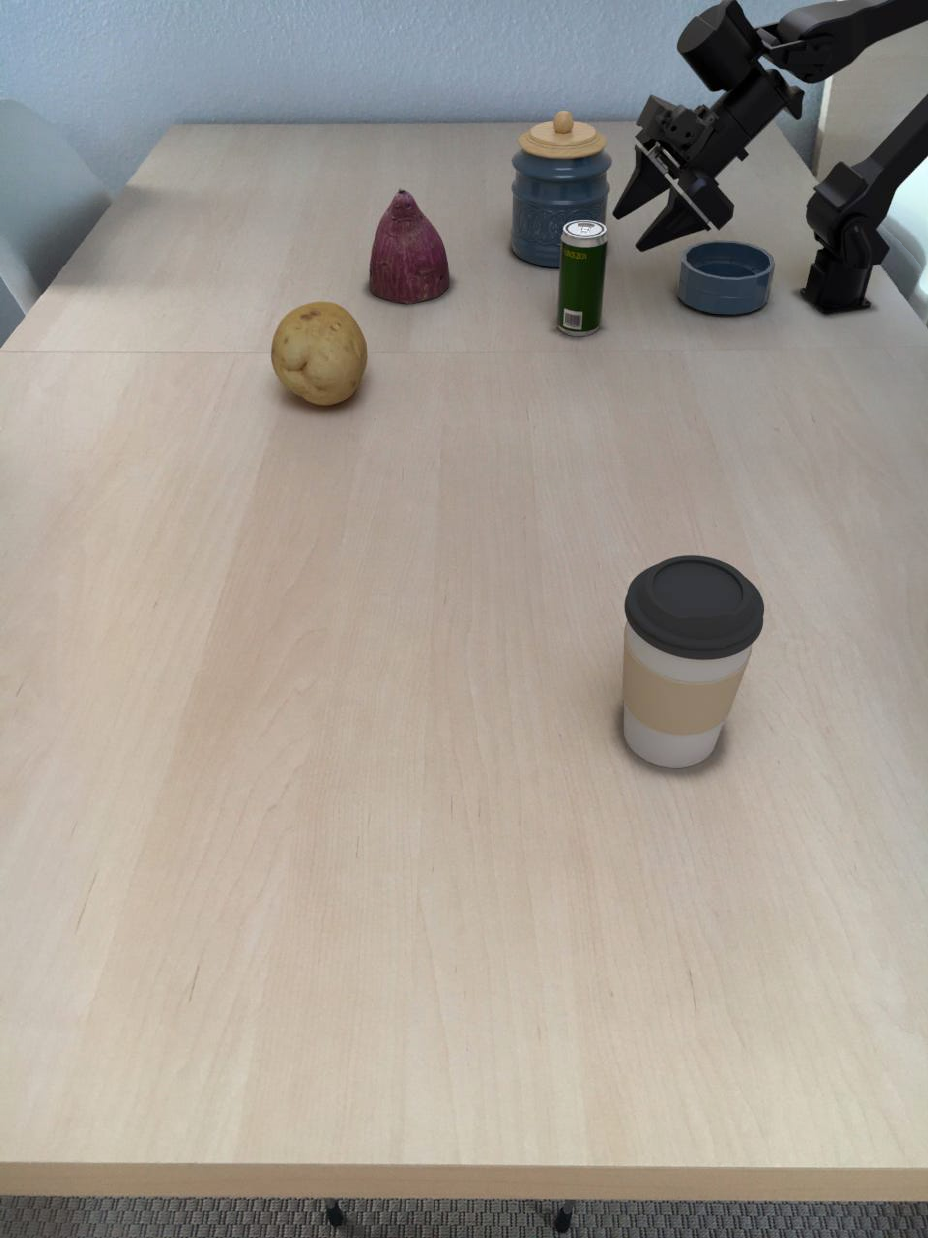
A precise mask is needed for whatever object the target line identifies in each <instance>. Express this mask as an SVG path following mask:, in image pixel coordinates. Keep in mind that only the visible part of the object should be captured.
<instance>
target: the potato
mask: <svg viewBox="0 0 928 1238" xmlns="http://www.w3.org/2000/svg"><path fill="white" fill-rule="evenodd" d="M367 345H368V344H367V341H366V337H365V336H364V333H363V331H362V329H361V327H360V326H359V324H358V323H357V320H355V318H354V317H353V315H352V314H351V313H349V311H348V310H347V309H345V308H344V307H343V306H341V305H339V304H338V303H335V302H331V301H315V302H309V303H306V304H305V303H304V304H302V305H299V306H298V307H296V308H294V309H292V310H290V311H289V312H288V313H287V314H286V315H285V316H284V317H283V318H282V319H281V321H280V322H279V324H278V325H277V328H276V329H275V332H274V334H273V338H272V342H271V346H270V347H271V348H270V359H271V360H270V361H271V365H272V368H273V370H274V373H275V375H276V377H277V378H278V380H279V381H280V383H281V384H282V385H283V386H284V387H285V388H286V389H288V390H289V391H291V392H292V393H294V394H295V395H298V396H299V397H301V398H302V399H304V400H305V401H307V402H308V403H311V404H315V405H317V406H333V405H335V404H336V405H337V404H339V403H341V402H342V403H343V402H344V401H345V400H348V399H349V398H350V397H352V395H353V394H354V392H355V391H356V390H357V388H358V387H359V385H360V383H361V381H362V379H363V377H364V374H365V371H366V369H367V365H368V356H369V355H368V346H367Z"/></svg>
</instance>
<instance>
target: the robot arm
mask: <svg viewBox="0 0 928 1238" xmlns="http://www.w3.org/2000/svg"><path fill="white" fill-rule="evenodd" d="M926 22H928V0H836V1H835V0H833V1H824V2H820V3H814V4H810V5H806V6H801V7H797V8H795V9H792V10H791V11H789V12H787V13H786V14H784V16H782V18H780V19H779V20H778V21H775V22H771V23H765V24H762V25H758V26H754V25H752V23H751V22H750V21H749V19H748V18H747V17H746V14H745V12H744V10H743V7H742V6H741V4H740V3H739V2H738V0H721V1H720V2H719V4H716V5H715V4H714V5H712V6H710V7H708V8H707V9H705V10H704V11H703V12H701V13H700V14H699V15H698V16H697V15H695V16H694V17H693V18H692V19H691V20H690V21H689V23H687V25H686V26H685V27H684V28H683V31H681V33H680V35H679V37H678V40H677V42H676V50H677V53H678V54H679V55H680V56H681V58H683V60H684V61H685V62H686V64H687V65H688V66H689V68H691V70H692V72H694V73H695V75H696V76H697V77H698V79H699V80H700V81H701V82H702V84H703V85H704V86H705V87H706V88H707V90H708V91H709V92H713V93H714V92H719V91H720V92H721V91H724V92H723V93H722V94H721V95H720V96H719V98H718V99H717V100H716V101H714V103H713V104H712V105H711V106H710V107H708V106H707V105H705V103H703V104H699V105H697V107H695V109H692V108H687V107H686V106H684V104H682V103H680V104H678V105H675V104H674V103H671V102H669V101H667V100H665V99H662V98H661V97H659V96H656V95H655V94H652V93H651V94H649V97H648V98H647V100H646V102H645V104H644V106H643V108H642V110H641V112H640V114H639V116H638V118H637V120H636V123H635V124H636V125H635V126H637V127H641V130H640V131H639V132H638V133H637V134H636V135H635V136H634V138H635V139H636V140H637V141H638V142H639V143H640V145H641V147H639V145H637V143H636V144H635V145H634V151H635V167H634V170H633V172H632V174H631V175H630V176H631V177H630V178H629V180H628V182H627V184H626V186H625V188H624V190H623V191H622V194H621V195H620V197H619V198H618V201H617V203H616V205H615V207H614V209H613V210H612V212H611V214H612V216H613V217H614V218H615V220H616V221H619V220H621V219H623V218H625V217H627V216H628V215H630V214H632V213H633V212H635V211H636V210H638V209H639V208H641V207H643V206H644V205H646V204H647V203H649V202H651V201H652V200H654V199H655V198H657V197H658V196H660V195H662V194H663V193H665V192H666V191H668V190H669V191H668V198H667V203H666V205H665V206H664V208H663V209H662V210H661V211H660V213H658V215H657V216H656V218H655V219H654V220H653V221H652V222H651V223H650V225H649V226H648V227H647V229H646V230H645V231H644V232H643V233H642V235H641V236H640V237H639V239H638V241H636V243H635V248H636V249H637V250H638V252H640V253H644V252H646V251H650V250H652V249H654V248H656V247H659V246H662V245H665V244H668V243H670V242H672V241H675V240H678V239H680V238H684V237H687V236H690V235H693V234H696V233H699V232H702V231H705V232H709V231H711V230H712V227H711V226H710V225H709V223H711V224H712V225H713V226H714V227H715V228H716V229H717V231H720V230H721V229H722V228H724V227H725V226H726V225H727V224H728V223H729V221H731V220H732V219H733V217H734V212H735V211H734V210H735V204H734V203H733V202H732V200H730V198H729V197H728V196H727V195H726V194H725V193H724V191H723V190H722V189H721V188H720V187H719V186H720V183H719V182H718V181H717V180H716V178H717V177H718V176H719V175H720V174H721V173H722V172H723V171H724V170H725V168H727V167H728V166H729V165H730V164H731V163H732V162H733V161H734V160H735V159H736V158H737V159H738V160H739V161H740V162H743V161H745V159H747V158H748V157H749V155H750V153H749V152H748V151H747V150H746V148H747V147H748V146H749V145H750V144H751V143H752V142H753V141H754V139H756V138H757V137H758V135H759V134H761V132H763V131H764V129H766V128H767V126H768V125H769V124H770V123H772V121H773V120H774V119H775V118H777V116H779V114H781V112H782V111H784V112H786V114H788V115H789V116H790V117H792V118H793V119H794V120H796V121H799V120H801V119H802V118H803V109H804V108H803V107H804V106H803V104H804V103H803V102H804V97H805V95H806V91H805V90H804V89H802V88H801V87H799V86H798V85H790V84H789V83H788V82H787V80H786V79H785V78H784V76H783V74H782V73H781V72H780V71H779V70H784V71H786V72H788V73H789V74H791V75H792V76H793V77H795V78H796V79H798V80H800V81H801V82H803V83H805V84H811V85H814V84H818V83H822V82H824V81H825V80H828V79H829V78H831V77H832V76H834V75H836V74H838V73H839V72H841V71H842V70H844V69H845V68H847V67H849V66H850V65H852V64H853V63H854V62H855V61H856V60H857V59H858V57H859V56H861V54H862V53H863V52H864V51H865V50H867V49H868V48H869V47H871V46H873V45H875V44H877V43H878V42H880V41H883V40H885V39H889V38H890V37H892V36H895V35H897V34H899V33H902V32H905V31H907V30H909V29H911V28H914V27H916V26H918V25H921V24H923V23H926ZM761 57H762V58H764V59H765V60H766V61H768V62H769V63H771V64H772V65H773V66H775V67H776V68H778V69H776V68H767V69H765V68H764V66H763V65H762V63H761V62H760V61H759V60H760V59H761ZM927 158H928V93H926V95H925V96H924V97H923V98H921V100H920V101H919V102H918V103H917V104H916V105H915V106H914V107H913V108H912V109H911V110H910V111H909V113H908V114H907V115H906V116H905V117H904V118H903V119H902V120H901V121H900V123H898V125H897V126H896V127H895V128H894V129H893V130H892V131H891V132H890V133H889V134H888V135H887V136H886V137H885V138H884V140H883V141H881V143H880V144H879V145H878V146H877V147H876V148H875V149H874V151H873V152H871V154H869V156H868V157H866V158H865V159H864V160H862V161H860V162H858V163H856V164H853V165H852V166H849V165H848V164H846V163H845V162H844V160H843V161H842V160H840V161H839V162H838V163H836V164H835V165H834V166H833V167H832V169H831V170H830V172H829V173H828V174H827V176H826V177H825V178H824V179H822V181H821V182H820V183H818V184H816V185H814V186H813V187H812V191H814V193H813V194H812V195H811V197H810V198H809V200H808V201H807V204H806V212H805V213H806V214H805V219H806V223H807V225H808V226H809V228H810V229H811V230H812V232H813V239H814V240H815V242H816V243H817V242H818V243H819V244H820V245H821V246H822V248H820V249H817V250H816V253H815V258H814V262H813V263H811V264H810V268H809V272H808V277H807V281H806V285H805V287H802V288H800V290H799V294H800V295H801V296H803V297H804V298H805V299H806V300H807V301H808V302H810V304H812V305H813V306H814V307H815V308H817V310H819V311H820V312H821V313H822V314H824V315H830V314H837V313H844V312H849V311H856V310H863V309H869V308H871V306H872V302H871V301H870V300H868V299H867V298H866V294H867V290H868V286H869V283H870V279H871V275H872V272H873V269H874V266H881V264H882V263H883V262H884V260H885V258H886V257H887V256H888V254H889V252H890V249H891V248H890V246H889V244H888V243H887V242H886V240H885V239H884V238H883V237H882V235H881V234H880V233H879V231H878V230H877V229H878V228H879V227H880V225H881V224H882V223H883V221H884V220H885V219H886V218H887V215H888V213H889V211H890V208H891V205H892V202H893V200H894V198H895V195H896V192H897V190H898V189H899V188H900V186H901V185H902V184H903V183H904V182H905V181H906V180H907V179H908V178H909V177H910V176H911V175H912V174H913V173H914V172H915V170H917V168H918V167H919V166H921V164H922V163H924V162H925V161H926V160H927ZM666 175H668V176H669V177H670V178H671V179H672V180H673V181H676V180H677V179H678V180H677V183H676V185H677V186H678V187H679V188H680V190H682V193H680V192H679V191H678V190H677V188H675V186H674V184H673V183H672V182H671V181H670V180H669V179H668V178H667V176H666Z"/></svg>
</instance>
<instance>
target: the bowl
mask: <svg viewBox="0 0 928 1238" xmlns="http://www.w3.org/2000/svg"><path fill="white" fill-rule="evenodd" d="M775 261H776V260H775V258H774V256H773V255H772V254H771V253H769V252H768V251H767V250H766V249H765V248H761V247H760V246H756V245H755V244H751V243H749V242H742V241H737V240H726V239H725V240H723V239H722V240H721V239H719V240H718V239H715V240H708V241H701V242H698V243H695V244H693V245H690V246H687V248H686V249H685V250H683V252H682V253H681V254H680V263H679V270H678V276H677V277H678V278H677V284H676V296H677V297H678V298H679V299H680V300H681V301H682V302H683V303H684V304H685V305H687V306H689V307H691V308H693V309H695V310H698V311H701V312H705V313H709V314H715V315H741V314H747V313H752V312H753V311H756V310H758V309H760V308H763V307H764V305H765V304H766V303H767V302H768V301H769V298H770V293H771V287H772V283H773V278H774V273H775V268H776V262H775Z"/></svg>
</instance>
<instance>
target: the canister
mask: <svg viewBox="0 0 928 1238" xmlns="http://www.w3.org/2000/svg"><path fill="white" fill-rule="evenodd" d="M607 144H608V140H607V138H606V137H605V135H603V134H602V133H600V132H599V131H597V130H596V128H595V127H594V126H592V125H590V124H589V123H585V122H583V121H582V122H581V121H577V120H574V117H573V114H572V113H571V112H570V111H567V110H561V111H558V112H557V113H556V114H555V115H554V118H553V119H552V120H550V121H544V122H541V123H538V124H536V125H534V126H532V127H531V128H530V130H528V131H525V132H524V133H523V134H521V136H519V139H518V146H519V147H520V149H519V150H517V151H516V152H515V153H514V154H513V156H512V158H511V164H512V167H513V168H514V169H515V177H514V180H513V181H512V182H511V186H510V187H511V192H512V211H511V212H512V219H511V221H512V222H511V223H512V224H511V229H510V242H511V245H512V250H513V253H514V254H515V256H517V257H518V258H519V259H521V260H523V261H525V262H527V263H530V264H532V265H537V266H542V267H548V268H549V267H550V268H559V266H560V245H561V235H562V233H563V227H564V226H565V225H566V224H567V223H569V222H573V221H578V220H590V221H596V222H599V223H601V224H603V225H605V226H606V224H607V222H606V221H607V211H608V199H609V193H610V190H611V185H610V183H609V181H608V171H609V169H611V167H612V164H613V159H612V157H611V155H610V154H609V153H608V151H606V150H604V149H606V147H607Z"/></svg>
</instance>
